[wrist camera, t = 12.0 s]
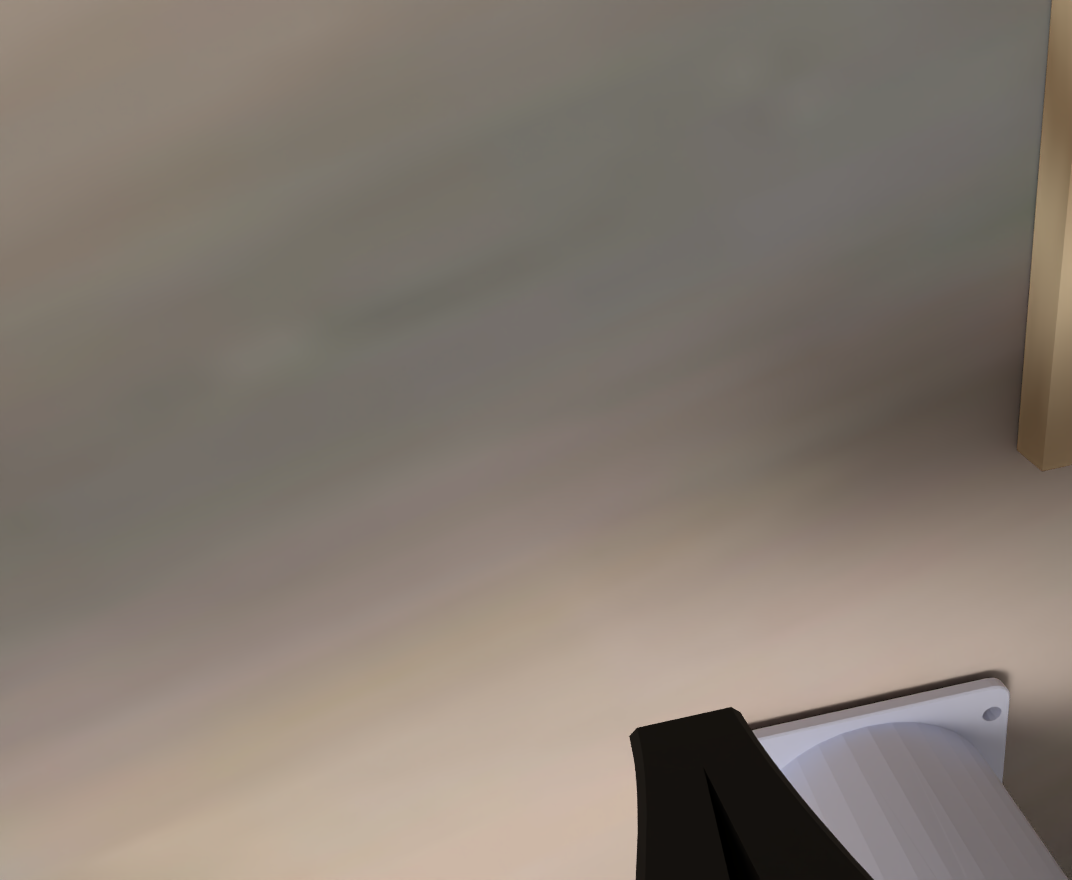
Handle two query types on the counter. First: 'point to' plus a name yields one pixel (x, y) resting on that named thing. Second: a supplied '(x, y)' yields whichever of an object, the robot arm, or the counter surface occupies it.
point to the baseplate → (1051, 269)
